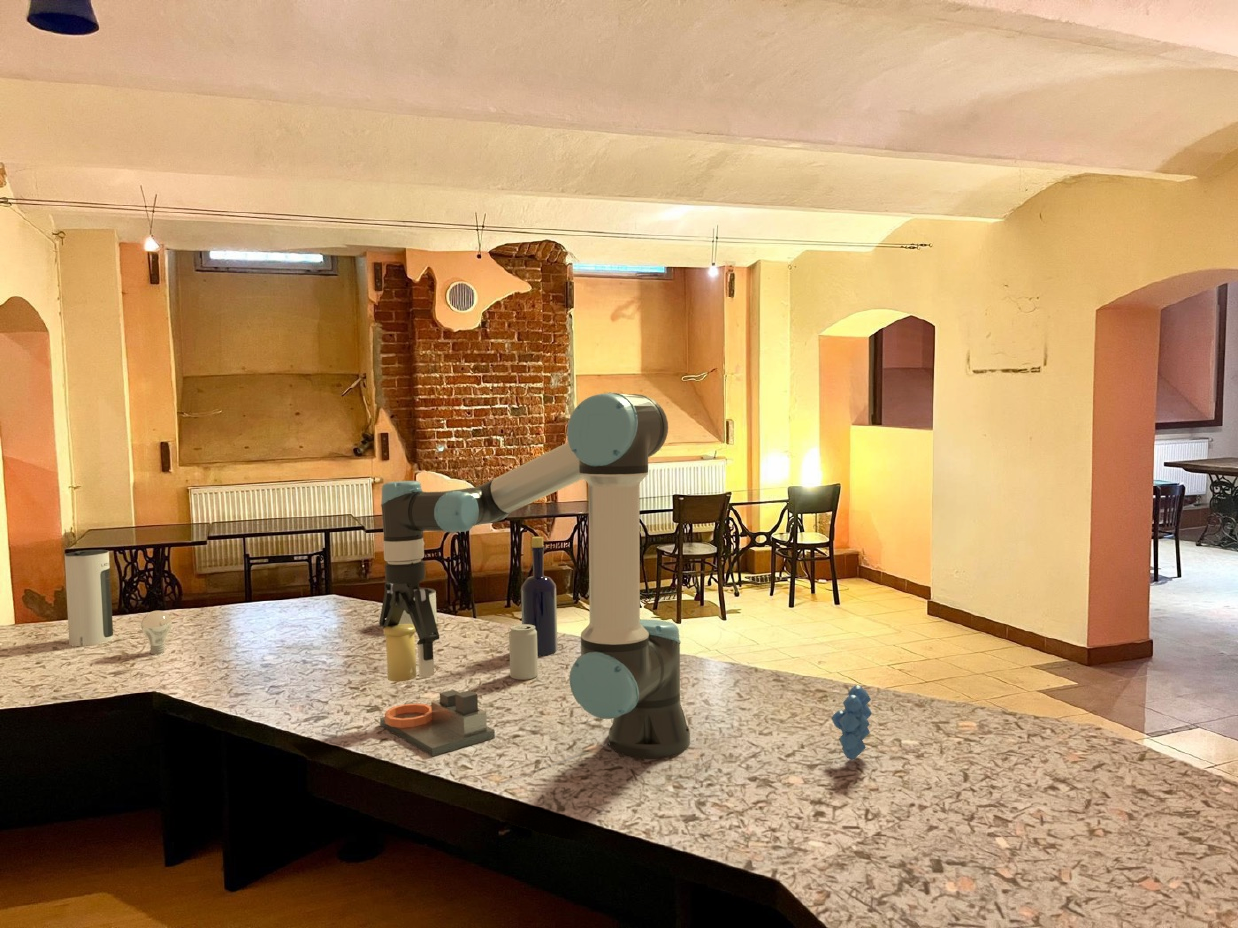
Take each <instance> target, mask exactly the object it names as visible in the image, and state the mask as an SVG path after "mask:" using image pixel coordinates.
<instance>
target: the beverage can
mask: <svg viewBox="0 0 1238 928" xmlns="http://www.w3.org/2000/svg"><path fill="white" fill-rule="evenodd" d="M508 636H509V637H508V642H509V643H508V644H509V646H508V647H509V648H508V649H509V676H510V678H512V679H514V680H516V681H527V680H531V679H534V678H536V677H538V675H539V666H538V665H539V663H538V661H539V659H538V657H539V656H538V655H537V631H536V630H535V626H534V625H529V624H522V623H521V624H515V625H512V626H510V631H508Z"/></svg>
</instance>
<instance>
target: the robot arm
mask: <svg viewBox="0 0 1238 928" xmlns="http://www.w3.org/2000/svg"><path fill="white" fill-rule="evenodd" d="M566 429H567V430H566V436H567V437H566V438H567V442H565V443H563V444H562V445H560V446H557V447H555V448H554V449H551V450H550V451H547V452H545V453H544V454H542V455H539V456H538V457H535V458H533V459H531V460H529V461H528V462H525V463H522V464H521V465H519V466H517V467H515V468H513V469H511V470H509V471H507V472H505V473H503V474H502V475H499V476H497V477H495V478H493V479H491V480H489V481H487V482H485V483H482V484H481V485H478V486H475V487H469V488H468V487H466V488H460V489H453V490H447V491H446V490H445V491H423V489H422V484H421V483H420V481H419V480H400V481H398V480H396V481H389V482H385V483H384V484H383V485H382V487H381V504H380V507H381V516H382V530H383V541H382V543H383V544H382V545H383V558H384V559H383V560H384V561H385V562H386V563H385V565H384V573H385V574H384V575H385V576H384V577H385V583H384V594H383V600H382V605H381V611H380V617H379V621H378V623H379V626H380V627H383V628H382V629H384V628H385V627H387V626H391V625H397V624H399V622H400V619H401V617H402V614H403V611H404V610H405V611H406V613H407V614H409V615H410V617H411V620H412V622H413V625H414V627H415V630H416V632H415V633H416V634H417V637H418V641H417V642H416V644H417V653H418V676H419V678H420V679H424V678H428V677H431V676H435V664H434V662H435V661H434V660H435V659H434V642H435V641H437V640H440V634H439V630H438V627H437V624H436V622H435V618H434V615H433V611H432V607H431V604H430V599H429V590H428V589H421V590H420V588H421V587H420V583H421V582H422V581H424V580H425V579H426V563H425V561H424V560H423V558H424V557H425V547H424V546H425V545H426V544H425V541H424V532H425V531H426V532H443V533H444V532H446V533H452V534H455V533H461V532H463V533H464V532H468V531H470V530H472V529H473V527H475V526H481V525H485V524H494V523H497V522H499V521H502V520H504V519H505V518H507V517H508V516H509V515H510V514H511V513H513V512H514V511H517V510H519V509H521V508H523V507H525V506H528V505H529V504H531V503H534V502H537V501H538V500H541V499H543V498H545V497H547V496H549V495H551V494H554V493H555V492H558V491H560V490H562V489H565V488H566V487H569V486H571V485H574V484H575V483H577V482H580V481H582V480H585V481H586V483H587V485H588V486H587V487H588V572H589V574H588V575H589V577H588V578H589V579H588V580H589V581H588V582H589V583H588V584H589V586H588V587H589V588H588V590H589V591H588V592H589V593H588V595H589V601H588V604H589V611H588V613H589V623H588V625H587V626H586V627H585V628H584V629H583V630H582V631H581V632H580V656H578V658H576V660H575V661H574V662H573V664H572V666H571V668H570V672H569V687H570V690H571V693H572V696H573V698H574V699H575V701H576V702H577V704H579V705H580V706H581V707H582V708H583V710H584V711H585V712H587V713H588V714H590V716H591V715H592V716H593V717H596V718H598V719H605V720H611V719H613V720H612V724H611V725H610V728H609V730H608V745H609V748H610V749H612V751H614V752H616V753H617V754H619V755H621V756H624V757H629V758H632V759H641V760H642V759H643V760H654V759H655V760H659V759H665V758H671V757H673V756H674V757H675V756H677V755H679V754H681V753H684V752H685V751H687V749H689V747H690V745H691V731H690V728H689V726H688V725H687V720H686V717H685V714H684V713H685V712H684V710H683V707H682V705H681V704H682V703H681V640H680V629H679V628H678V626H677V625H676V624H675V623H673V622H670V621H665V620H657V619H648V618H647V619H645V618H644V619H641V617H640V616H641V608H640V606H641V605H640V604H641V602H640V601H641V599H640V598H641V594H640V592H641V591H640V590H641V589H640V587H641V582H640V580H641V579H640V578H641V577H640V575H641V574H640V573H641V571H640V567H641V566H640V563H641V561H640V559H641V558H640V547H641V546H640V543H641V542H640V484H641V482H642V481H643V480H644V479H645V478H646V477H647V476H648V475H649V458H651V457H652V456H653V455H655V454H656V453H658V452H659V451H660V450H661V449H662V447H663V446H664V444H665V442H666V439H667V436H668V433H669V421H668V417H667V415H666V412H665V411H664V409H663V407H662V406H661V405H660V404H659V403H658V402H657V401H656V400H654V399H653V398H651V397H649V396H647V395H644V394H638V393H637V394H635V393H634V394H631V393H629V394H628V393H618V392H607V393H599V394H594V395H591V396H589V397H587V398H585V399H584V400H582V401H580V403H579V404H578V405H577V406H576V407H575V408H574V409H573V411H572V413H571V415H570V417H569V419H568V424H567V428H566Z"/></svg>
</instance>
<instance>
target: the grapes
mask: <svg viewBox="0 0 1238 928" xmlns="http://www.w3.org/2000/svg"><path fill="white" fill-rule="evenodd" d="M847 694H848V696H847V697H846V698H845V699H844V700H843V702H842V704H843V706H844V709H838V710H837V711H836V712H835V713H834V714H833V715H832V716H831V721H832V722H833V724H834V726H835V727H836V728H837V729H839V730H840V731H841V736H839V739H838V740H839V743H840V745H841V749H842V752H843V754H844V755H845V757H846V758H847V759H848V760H851V761H853V760H855V759H856V758H858V757H859V755H861V754H862V753H863V752H864V751H865V750H866V748H867V747H866V745H865V742H864V741H863V740H865V739H866V738H867V736H869V735H870V733H871V731H870V729H869V726H870V721H869V718H870V717H871V716H872V714H873V713H872V711H871V709H870V707H869V705H868V704H869V702H871V697H870V695H869V693H868V692H867V690H865V689H864V688H863V687H862V686H860V685H858V684H857V685H854V686H853V687H852V688H851V689H850V690H849V691H848V692H847Z"/></svg>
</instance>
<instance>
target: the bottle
mask: <svg viewBox="0 0 1238 928" xmlns="http://www.w3.org/2000/svg"><path fill="white" fill-rule="evenodd" d="M531 544H532V545H531V547H530V548H531V550H530V551H531V553H532V575H533V576H529V577H527V578H526V579H525V580H524V582H523V583H522V585H521V587H520V593H521V597H520V598H521V600H520V601H521V602H520V605H521V624H529V625H534V626H535V630H536V631H537V655H538V657H546V656H550V655H554V654H556V652H558V614H557V613H558V612H557V610H558V609H557V585H556V583H555V582H554V580H553V579H552V578H551V577H550V576H545V575H544V551H545V546H544V536H533V537H531Z"/></svg>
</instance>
